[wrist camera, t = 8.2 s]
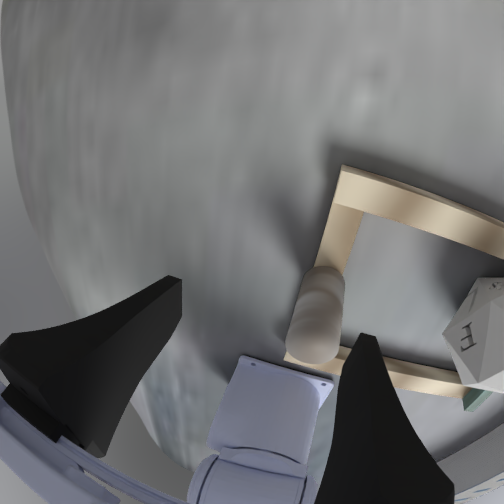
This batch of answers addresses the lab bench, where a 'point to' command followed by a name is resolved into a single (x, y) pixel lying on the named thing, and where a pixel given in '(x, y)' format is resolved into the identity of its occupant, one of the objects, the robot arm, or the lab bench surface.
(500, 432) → the long grey block
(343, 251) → the tan frame
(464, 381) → the die
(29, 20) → the lab bench surface
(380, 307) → the lab bench surface
